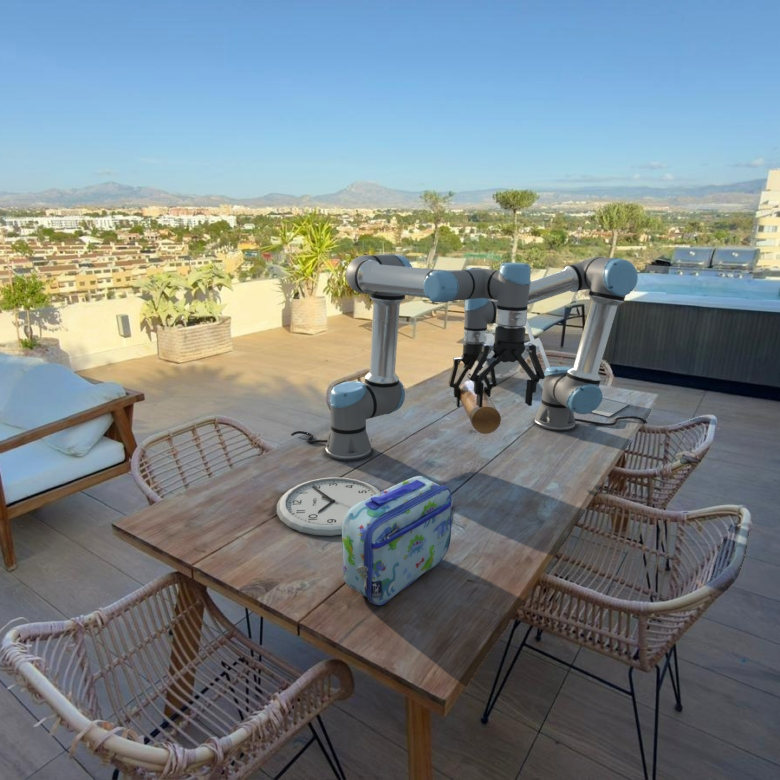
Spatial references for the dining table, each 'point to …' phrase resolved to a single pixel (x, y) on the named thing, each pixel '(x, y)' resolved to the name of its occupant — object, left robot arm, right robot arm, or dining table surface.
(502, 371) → the white plastic object
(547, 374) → the right robot arm
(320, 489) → the wall clock
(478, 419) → the rod
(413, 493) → the lunch box
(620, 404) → the invitation card
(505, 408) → the dining table surface
